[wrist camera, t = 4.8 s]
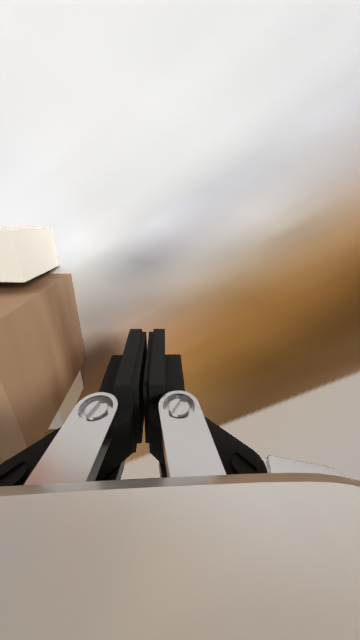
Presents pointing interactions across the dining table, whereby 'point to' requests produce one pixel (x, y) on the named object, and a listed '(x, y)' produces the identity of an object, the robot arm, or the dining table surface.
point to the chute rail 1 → (26, 252)
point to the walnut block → (36, 356)
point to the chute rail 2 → (68, 403)
